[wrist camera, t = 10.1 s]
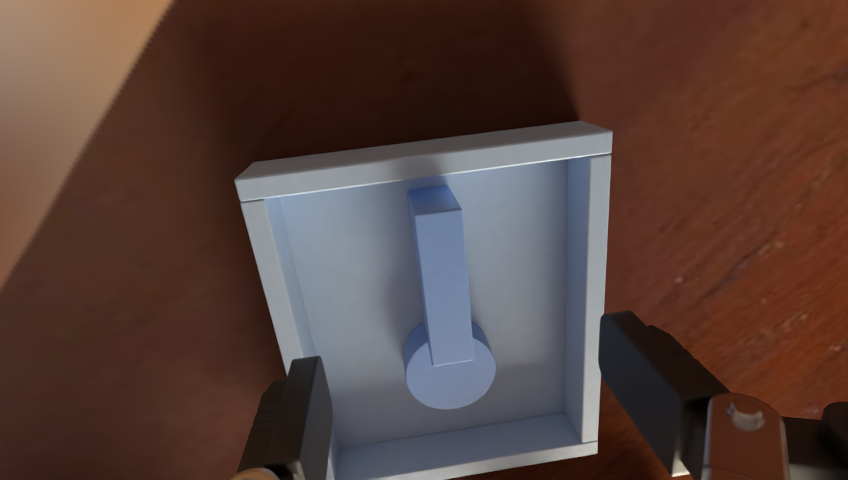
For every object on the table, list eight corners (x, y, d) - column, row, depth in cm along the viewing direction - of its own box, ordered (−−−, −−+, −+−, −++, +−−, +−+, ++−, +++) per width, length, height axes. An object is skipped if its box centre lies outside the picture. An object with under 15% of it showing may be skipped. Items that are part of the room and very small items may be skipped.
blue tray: (252, 161, 17) (232, 179, 15) (580, 120, 18) (613, 130, 15) (326, 453, 23) (320, 500, 20) (574, 413, 23) (598, 454, 21)
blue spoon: (378, 193, 17) (379, 219, 15) (476, 180, 18) (496, 203, 15) (408, 392, 21) (414, 443, 18) (490, 379, 21) (507, 428, 18)
